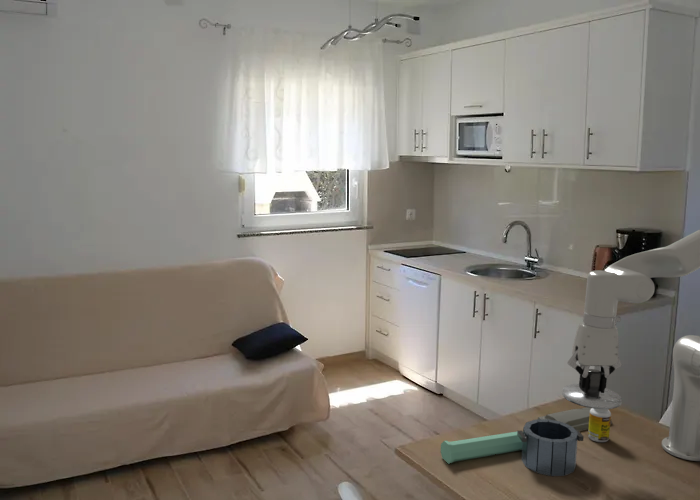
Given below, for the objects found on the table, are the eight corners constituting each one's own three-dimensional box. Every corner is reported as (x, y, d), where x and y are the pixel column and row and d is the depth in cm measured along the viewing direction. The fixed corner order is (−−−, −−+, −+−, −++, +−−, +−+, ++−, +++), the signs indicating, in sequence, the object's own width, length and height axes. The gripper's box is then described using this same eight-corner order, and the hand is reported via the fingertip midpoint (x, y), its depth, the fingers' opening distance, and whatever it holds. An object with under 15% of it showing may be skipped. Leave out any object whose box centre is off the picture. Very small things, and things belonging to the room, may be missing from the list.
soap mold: (612, 425, 191) (613, 414, 190) (558, 437, 183) (559, 426, 183) (587, 412, 200) (588, 401, 200) (535, 423, 192) (535, 412, 192)
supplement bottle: (600, 445, 178) (603, 409, 176) (583, 437, 182) (586, 402, 181) (613, 439, 181) (616, 405, 179) (596, 432, 185) (598, 398, 184)
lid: (605, 387, 172) (608, 362, 171) (631, 409, 158) (634, 382, 157) (553, 387, 171) (556, 361, 169) (575, 409, 157) (578, 381, 156)
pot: (568, 450, 174) (570, 418, 173) (588, 475, 162) (591, 441, 160) (510, 451, 174) (512, 419, 172) (526, 476, 161) (528, 442, 159)
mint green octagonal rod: (525, 423, 177) (443, 435, 168) (536, 440, 172) (453, 453, 164) (518, 438, 180) (438, 451, 171) (530, 455, 175) (447, 469, 167)
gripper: (624, 317, 165) (616, 385, 168) (560, 316, 164) (554, 385, 167) (639, 325, 158) (630, 397, 161) (572, 324, 157) (565, 396, 160)
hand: (591, 390), depth 164 cm, fingers closed on lid, 3 cm apart
